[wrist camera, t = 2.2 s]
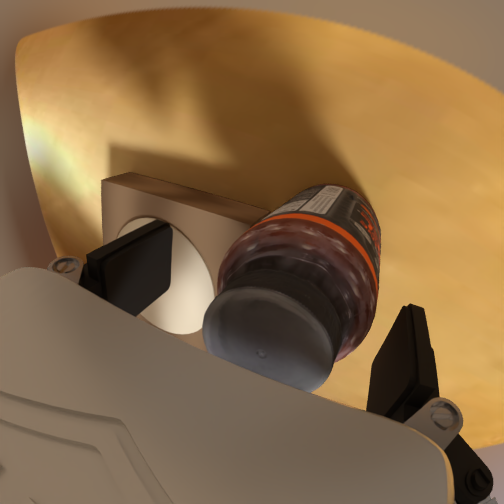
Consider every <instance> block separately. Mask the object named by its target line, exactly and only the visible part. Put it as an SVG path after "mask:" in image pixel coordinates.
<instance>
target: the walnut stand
mask: <svg viewBox="0 0 504 504" xmlns="http://www.w3.org/2000/svg"><path fill="white" fill-rule="evenodd" d="M101 201H102V230H103V246H104V245H106V244H108V243H110V242H112V241H113V240H115V239H117V238H119V237H121V236H123V235H125V234H127V233H129V232H131V231H133V230H135V229H137V228H139V227H141V226H143V225H146V224H148V223H150V222H152V221H154V220H156V219H158V220H161V221H164V222H167V223H169V224H170V226H171V228H172V229H173V241H172V262H171V284H170V287H169V289H168V290H167V291H166V292H165V293H164V294H163V295H162V296H160V297H159V298H158V299H157V300H156V301H154V302H153V303H152V304H151V305H149V306H148V307H147V308H146V309H145V310H143V311H142V312H141V313H140V314H139V315H137V316H136V318H138V319H140V320H142V321H144V322H146V323H148V324H150V325H152V326H154V327H156V328H158V329H159V330H161V331H163V332H165V333H167V334H169V335H171V336H174V337H176V338H178V339H180V340H182V341H184V342H186V343H188V344H190V345H192V346H194V347H197V348H199V349H201V350H203V351H205V352H208V351H207V349H206V346H205V343H204V339H203V335H202V324H203V319H204V314H205V312H206V310H207V308H208V306H209V305H210V303H211V302H212V301H213V300H214V299H215V297H216V296H217V278H218V272H219V268H220V265H221V263H222V260H223V258H224V256H225V254H226V252H227V251H228V250H229V248H230V247H231V246H232V244H233V243H234V242H235V241H236V240H237V239H238V238H239V237H240V236H241V235H242V234H243V233H245V232H246V231H248V230H249V229H250V228H252V227H253V226H254V225H256V224H257V223H258V222H260V221H261V220H262V219H264V218H265V217H267V216H268V215H269V213H270V211H268V210H265V209H261V208H258V207H255V206H251V205H248V204H245V203H241V202H238V201H234V200H231V199H227V198H224V197H220V196H217V195H213V194H210V193H206V192H203V191H199V190H195V189H192V188H188V187H184V186H181V185H177V184H173V183H169V182H166V181H162V180H158V179H154V178H150V177H146V176H142V175H138V174H134V173H130V172H129V173H125V174H121V175H117V176H113V177H110V178H106V179H103V180H101Z"/></svg>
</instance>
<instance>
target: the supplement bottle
mask: <svg viewBox="0 0 504 504" xmlns="http://www.w3.org/2000/svg"><path fill="white" fill-rule="evenodd" d="M380 248H381V233H380V226H379V223H378V219H377V217H376V214H375V212H374V211H373V209H372V207H371V206H370V204H369V203H368V202H367V201H366V200H365V199H364V198H363V197H362V196H361V195H360V194H358V193H357V192H356V191H354V190H352V189H350V188H348V187H345V186H341V185H336V184H320V185H316V186H313V187H310V188H308V189H306V190H304V191H302V192H301V193H299V194H297V195H296V196H294V197H293V198H292V199H291V200H289V201H288V202H286V203H285V204H283V205H282V206H281V207H279V208H278V209H277V210H275V211H274V212H272V213H271V214H270V215H268V216H267V217H265V218H264V219H262V220H261V221H260V222H258V223H257V224H256V225H254V226H253V227H252V228H250V229H249V230H248V231H246V232H245V233H243V234H242V235H241V236H240V237H239V238H238V239H237V240H236V241H235V242H234V243H233V244H232V246H231V247H230V248H229V250H228V251H227V252H226V254H225V256H224V258H223V260H222V263H221V265H220V268H219V272H218V278H217V296H216V297H215V299H214V300H213V301H212V302H211V303H210V305H209V306H208V308H207V310H206V312H205V314H204V319H203V324H202V335H203V339H204V343H205V346H206V349H207V351H208V353H210V354H212V355H214V356H217V357H219V358H221V359H223V360H226V361H228V362H231V363H233V364H235V365H238V366H240V367H243V368H245V369H247V370H250V371H252V372H255V373H257V374H260V375H263V376H265V377H268V378H270V379H273V380H276V381H278V382H281V383H284V384H286V385H289V386H292V387H294V388H297V389H300V390H303V391H306V392H309V393H311V392H312V391H314V390H316V389H318V388H319V387H320V386H321V385H322V384H323V383H324V382H325V381H326V379H327V378H328V377H329V375H330V373H331V371H332V368H333V365H334V363H335V362H338V361H339V360H341V359H343V358H345V357H346V356H347V355H349V354H350V353H351V352H353V351H354V350H355V349H356V348H357V347H358V346H359V345H360V344H361V343H362V341H363V339H364V338H365V337H366V335H367V333H368V332H369V330H370V328H371V326H372V323H373V320H374V317H375V312H376V306H377V298H378V290H379V272H380V254H381V250H380Z"/></svg>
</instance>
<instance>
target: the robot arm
mask: <svg viewBox="0 0 504 504" xmlns="http://www.w3.org/2000/svg"><path fill="white" fill-rule="evenodd" d="M172 241H173V229H172V228H171V226H170V224H169V223H167V222H164V221H161V220H158V219H156V220H154V221H152V222H150V223H148V224H146V225H143V226H141V227H139V228H137V229H135V230H133V231H131V232H129V233H127V234H125V235H123V236H121V237H119V238H117V239H115V240H113V241H112V242H110V243H108V244H106V245H104V246H102V247H100V248H98V249H96V250H94V251H92V252H91V253H89V254H87V255H86V257H87V263H86V264H84V263H83V261H82V259H80V258H79V257H76V256H63V257H59V258H57V259H55V260H53V261H52V262H51V263H50V264H49V266H48V268H47V270H44V269H39V268H31V267H24V268H19V269H17V270H14V271H12V272H10V273H8V274H5V275H4V276H2V277H0V504H498V503H497V501H496V498H495V497H494V498H492V499H491V498H490V493H491V491H492V488H493V477H492V474H491V472H490V470H489V469H488V467H487V466H486V465H485V464H484V463H483V461H482V460H481V459H480V458H479V457H478V456H477V454H476V453H475V452H474V451H473V450H472V449H471V447H470V446H469V445H468V444H467V443H466V442H465V441H464V439H463V438H462V437H461V436H460V435H459V434H458V433H459V432H460V430H461V428H462V426H463V417H462V413H461V411H460V409H459V408H458V407H457V406H456V405H455V404H454V403H453V402H452V401H450V400H448V399H446V398H441V397H439V387H438V378H437V370H436V363H435V356H434V351H433V348H432V347H431V344H430V338H429V332H428V326H427V321H426V316H425V311H424V308H422V307H419V306H416V305H413V304H409V305H408V306H403V307H402V309H401V310H400V312H399V314H398V316H397V318H396V320H395V322H394V324H393V326H392V328H391V330H390V332H389V334H388V335H387V337H386V339H385V341H384V343H383V344H382V346H381V348H380V350H379V352H378V353H377V355H376V357H375V359H374V361H373V363H372V367H371V377H370V385H369V394H368V401H367V408H366V411H364V410H361V409H358V408H355V407H352V406H349V405H346V404H343V403H339V402H336V401H333V400H330V399H327V398H324V397H321V396H318V395H315V394H312V393H309V392H306V391H303V390H300V389H297V388H294V387H292V386H289V385H286V384H284V383H281V382H278V381H276V380H273V379H270V378H268V377H265V376H263V375H260V374H257V373H255V372H252V371H250V370H247V369H245V368H243V367H240V366H238V365H235V364H233V363H231V362H228V361H226V360H223V359H221V358H219V357H217V356H214V355H212V354H210V353H208V352H205V351H203V350H201V349H199V348H197V347H194V346H192V345H190V344H188V343H186V342H184V341H182V340H180V339H178V338H176V337H174V336H171V335H169V334H167V333H165V332H163V331H161V330H159V329H158V328H156V327H154V326H152V325H150V324H148V323H146V322H144V321H142V320H140V319H138V318H136V316H137V315H139V314H140V313H141V312H142V311H143V310H145V309H146V308H147V307H148V306H149V305H151V304H152V303H153V302H154V301H156V300H157V299H158V298H159V297H160V296H162V295H163V294H164V293H165V292H166V291H167V290H168V289H169V287H170V284H171V262H172Z"/></svg>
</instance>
